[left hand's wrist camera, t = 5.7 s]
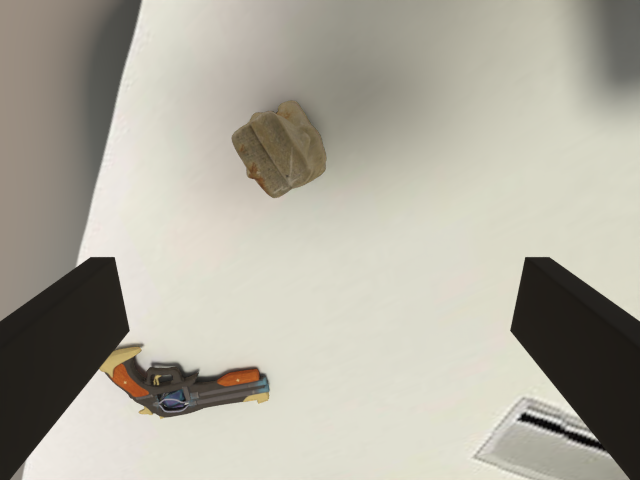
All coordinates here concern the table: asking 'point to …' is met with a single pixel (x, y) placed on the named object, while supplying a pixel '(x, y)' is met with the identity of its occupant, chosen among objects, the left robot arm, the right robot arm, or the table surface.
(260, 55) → the table surface
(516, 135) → the table surface
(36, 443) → the left robot arm
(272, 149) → the sculpture
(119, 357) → the toy gun
